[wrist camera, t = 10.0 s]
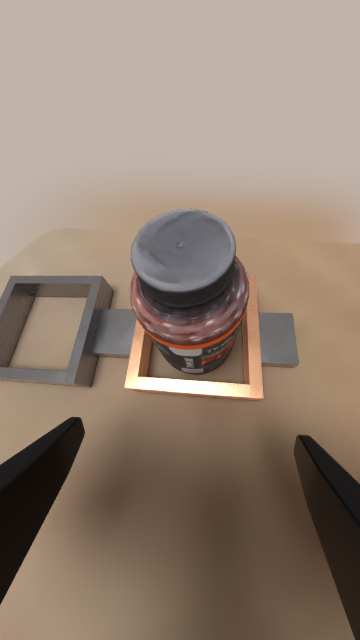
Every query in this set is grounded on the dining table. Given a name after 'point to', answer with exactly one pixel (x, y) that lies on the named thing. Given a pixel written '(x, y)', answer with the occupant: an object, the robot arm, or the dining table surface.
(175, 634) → the dining table surface
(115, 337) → the socket rail
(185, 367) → the supplement bottle
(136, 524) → the dining table surface
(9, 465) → the robot arm
